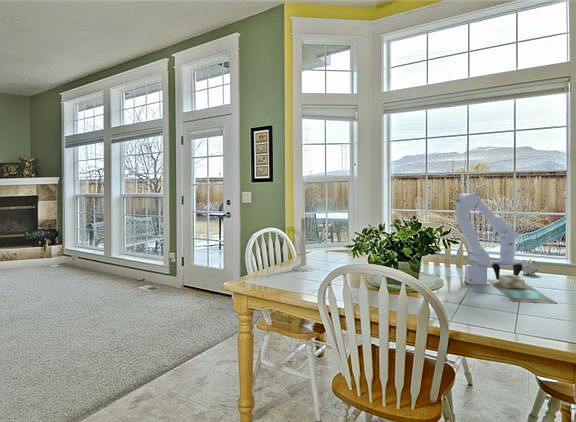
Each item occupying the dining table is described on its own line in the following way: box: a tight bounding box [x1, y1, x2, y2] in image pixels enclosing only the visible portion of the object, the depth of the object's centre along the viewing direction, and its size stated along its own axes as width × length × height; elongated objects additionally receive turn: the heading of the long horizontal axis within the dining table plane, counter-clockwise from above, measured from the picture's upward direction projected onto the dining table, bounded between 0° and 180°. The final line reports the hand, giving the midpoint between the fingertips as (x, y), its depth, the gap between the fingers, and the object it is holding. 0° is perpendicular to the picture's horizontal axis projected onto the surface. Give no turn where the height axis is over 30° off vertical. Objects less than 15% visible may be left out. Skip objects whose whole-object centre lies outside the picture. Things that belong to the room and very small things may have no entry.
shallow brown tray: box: [487, 278, 558, 304], centre depth 162 cm, size 16×34×1 cm, turn 168°
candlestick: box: [292, 218, 316, 272], centre depth 210 cm, size 13×13×30 cm
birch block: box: [499, 274, 526, 288], centre depth 169 cm, size 8×8×4 cm
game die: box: [521, 258, 540, 276], centre depth 189 cm, size 9×8×10 cm
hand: (506, 279), depth 175 cm, fingers open, 7 cm apart
